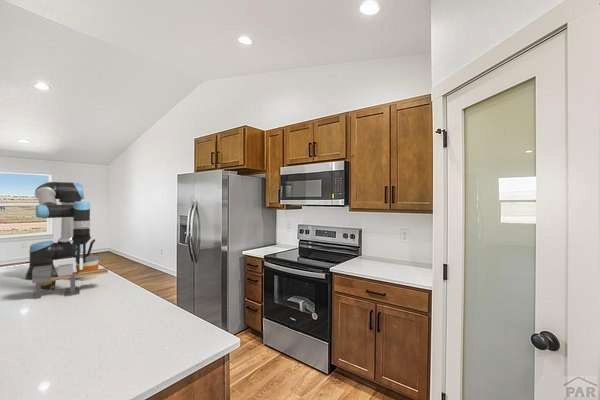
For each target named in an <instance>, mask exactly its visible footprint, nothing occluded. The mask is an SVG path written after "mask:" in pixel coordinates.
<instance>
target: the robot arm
mask: <svg viewBox="0 0 600 400" xmlns="http://www.w3.org/2000/svg"><path fill="white" fill-rule="evenodd" d="M34 195H35V198H36V199H38V204H37V205H36V206H35V217H36V218H38V219H55V218H56V219H57V218H61V219H60V221H61V222H60V223H61V225H60V227H61V228H60V237H59V238H58V239H57V242H55V241H54V240H46V241H45V240H44V241H38V242H35V243H33V244H31V245H30V246H29V251H28V253H29V264H28V265H29V267H28V269H27V271H26V274H25V280H31V281H32V270H33V269H34V267H41V266H50V265H52V270H57V269H56V267H55V264H54V260H62V259H76V258H77V264H80V270H82V269H83V263H85V262H86V257H87V256H89V255H90V254H91V252H92V248H93V245H94V243H95V242H96V239H95V238H92V237H91V228H90V227H91V203H90V201H82V200H84V199H85V193H84V187H83V185H82V184H81V183H79V182H70V181H69V182H66V181H65V182H64V181H62V182H61V181H49V182H45V183H43V184H40V185H39V186H37V187H36V189H35V191H34ZM57 200H58V202H59V203H61V204H57ZM88 242H89V247H88V250H87V248H86V246H87V245H86V244H88ZM86 251H87V252H86ZM81 252H82V253H81ZM81 254H82V255H83V257H80V255H81Z"/></svg>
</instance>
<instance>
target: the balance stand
mask: <svg viewBox="0 0 600 400" xmlns="http://www.w3.org/2000/svg"><path fill="white" fill-rule="evenodd" d="M69 280H70V281H69V287H68V288H65V293H64V294H65V295H64V297H69V296H75V295H80V288H81V287H80V286H76V278H75V276H72V277H70V278H69ZM34 289H35V293H34V294H35V299H36V300H37V299H41V298H42V289H41V282H40V283H35V288H34Z"/></svg>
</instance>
